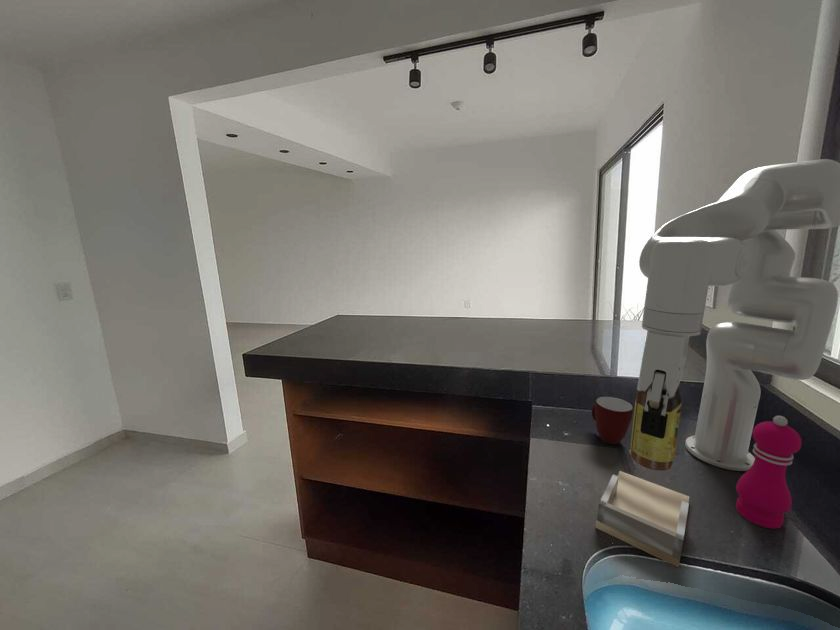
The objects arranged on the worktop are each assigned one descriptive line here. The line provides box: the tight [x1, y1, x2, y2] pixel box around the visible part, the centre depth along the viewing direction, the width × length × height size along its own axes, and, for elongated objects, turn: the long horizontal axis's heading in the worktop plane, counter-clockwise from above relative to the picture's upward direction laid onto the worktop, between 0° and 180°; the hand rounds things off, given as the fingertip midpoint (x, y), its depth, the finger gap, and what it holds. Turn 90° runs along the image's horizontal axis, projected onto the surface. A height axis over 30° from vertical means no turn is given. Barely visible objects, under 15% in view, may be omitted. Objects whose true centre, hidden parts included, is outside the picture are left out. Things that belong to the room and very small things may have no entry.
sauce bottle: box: [630, 376, 683, 472], centre depth 58 cm, size 7×6×20 cm
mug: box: [591, 396, 634, 446], centre depth 89 cm, size 11×8×10 cm
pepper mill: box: [735, 415, 803, 530], centre depth 63 cm, size 7×7×20 cm
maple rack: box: [595, 470, 690, 568], centre depth 65 cm, size 18×12×5 cm, turn 139°
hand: (655, 425), depth 58 cm, fingers closed on sauce bottle, 6 cm apart
